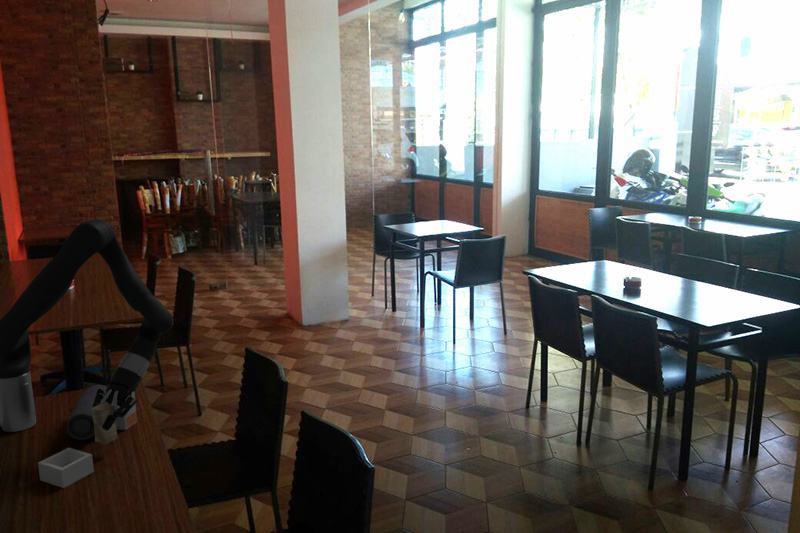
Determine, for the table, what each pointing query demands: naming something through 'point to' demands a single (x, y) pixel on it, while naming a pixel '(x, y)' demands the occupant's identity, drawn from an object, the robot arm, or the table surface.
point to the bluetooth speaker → (83, 415)
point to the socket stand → (66, 467)
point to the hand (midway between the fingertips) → (99, 427)
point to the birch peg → (99, 418)
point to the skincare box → (127, 418)
